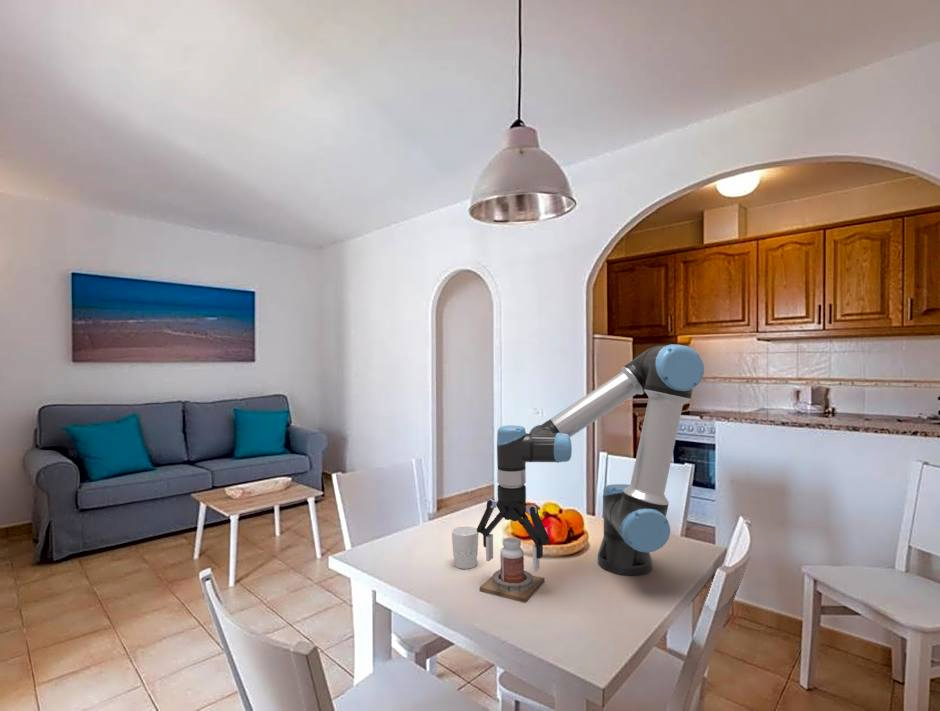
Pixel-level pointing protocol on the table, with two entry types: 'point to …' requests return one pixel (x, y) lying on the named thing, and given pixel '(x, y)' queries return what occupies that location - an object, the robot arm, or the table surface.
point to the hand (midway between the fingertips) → (512, 564)
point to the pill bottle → (512, 561)
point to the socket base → (513, 594)
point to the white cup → (465, 546)
